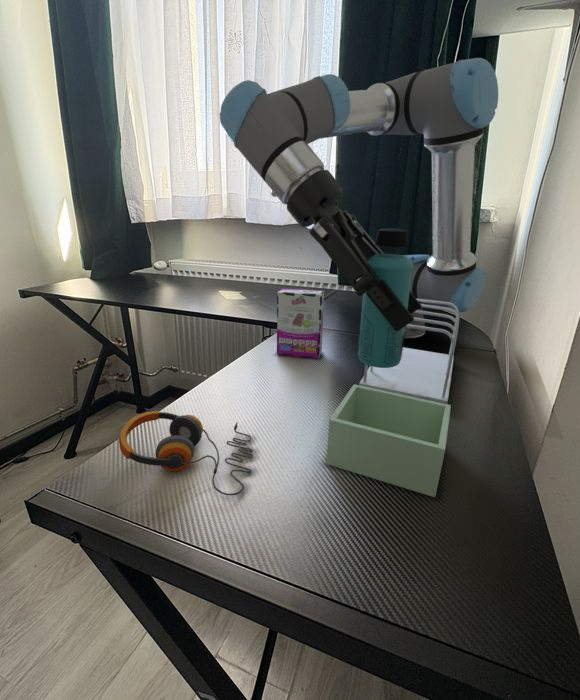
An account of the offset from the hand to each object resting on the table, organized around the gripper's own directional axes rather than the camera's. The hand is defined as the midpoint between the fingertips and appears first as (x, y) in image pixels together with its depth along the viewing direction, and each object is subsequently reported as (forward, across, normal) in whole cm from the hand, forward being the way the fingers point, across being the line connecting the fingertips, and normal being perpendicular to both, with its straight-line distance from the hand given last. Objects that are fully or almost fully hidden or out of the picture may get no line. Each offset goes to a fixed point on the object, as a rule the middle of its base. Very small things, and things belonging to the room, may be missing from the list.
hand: (409, 318), depth 52 cm
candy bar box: (-5, -31, -37) cm, 48 cm away
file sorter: (+15, -30, -17) cm, 38 cm away
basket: (+15, +1, -16) cm, 22 cm away
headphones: (-3, +15, -35) cm, 38 cm away
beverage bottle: (+4, 0, -9) cm, 9 cm away
